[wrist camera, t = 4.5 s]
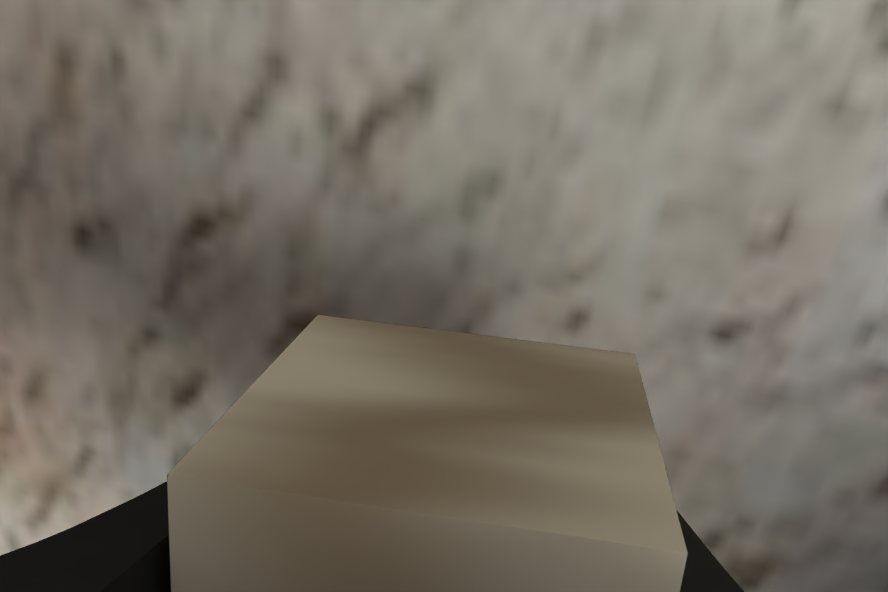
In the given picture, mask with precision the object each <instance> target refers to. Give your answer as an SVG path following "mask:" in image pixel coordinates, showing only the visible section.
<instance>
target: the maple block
mask: <svg viewBox="0 0 888 592" xmlns="http://www.w3.org/2000/svg"><path fill="white" fill-rule="evenodd" d="M167 489H168V518H169V546H170V574H171V592H680V588H681V583H682V578H683V574H684V569H685V564H686V559H687V554H688V552H687V549H686V545H685V541H684V537H683V534H682V530H681V526H680V522H679V518H678V515H677V511H676V507H675V503H674V500H673V496H672V492H671V488H670V485H669V481H668V477H667V473H666V470H665V466H664V462H663V458H662V454H661V451H660V447H659V443H658V439H657V436H656V432H655V428H654V424H653V421H652V417H651V413H650V409H649V405H648V402H647V398H646V394H645V390H644V387H643V383H642V379H641V375H640V372H639V368H638V364H637V360H636V356H635V354H630V353H622V352H614V351H606V350H598V349H590V348H582V347H574V346H566V345H558V344H550V343H541V342H533V341H525V340H517V339H509V338H501V337H493V336H485V335H477V334H469V333H461V332H452V331H444V330H436V329H428V328H420V327H412V326H404V325H396V324H388V323H380V322H372V321H363V320H355V319H347V318H339V317H331V316H323V315H317V316H316V317H315V319H314V320H313V321H312V322H311V323H310V324H309V325H308V326H307V327H306V328H305V329H304V330H303V331H302V332H301V333H300V334H299V335H298V336H297V338H296V339H295V340H294V341H293V342H292V343H291V344H290V345H289V346H288V347H287V348H286V349H285V350H284V351H283V352H282V353H281V354H280V356H279V357H278V358H277V359H276V360H275V361H274V362H273V363H272V364H271V365H270V366H269V367H268V368H267V369H266V370H265V371H264V372H263V374H262V375H261V376H260V377H259V378H258V379H257V380H256V381H255V382H254V383H253V384H252V385H251V386H250V387H249V388H248V389H247V390H246V392H245V393H244V394H243V395H242V396H241V397H240V398H239V399H238V400H237V401H236V402H235V403H234V404H233V405H232V406H231V407H230V408H229V410H228V411H227V412H226V413H225V414H224V415H223V416H222V417H221V418H220V419H219V420H218V421H217V422H216V423H215V424H214V425H213V426H212V428H211V429H210V430H209V431H208V432H207V433H206V434H205V435H204V436H203V437H202V438H201V439H200V440H199V441H198V442H197V443H196V444H195V446H194V447H193V448H192V449H191V450H190V451H189V452H188V453H187V454H186V455H185V456H184V457H183V458H182V459H181V460H180V461H179V462H178V464H177V465H176V466H175V467H174V468H173V469H172V470H171V471H170V472H169V473H168V474H167Z"/></svg>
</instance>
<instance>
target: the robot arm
mask: <svg viewBox="0 0 888 592" xmlns="http://www.w3.org/2000/svg"><path fill="white" fill-rule="evenodd" d="M676 511H677V510H676ZM677 515H678V518H679V522H680V526H681V530H682V534H683V537H684V541H685V545H686V549H687V552H688V554H687V559H686V564H685V569H684V574H683V578H682V583H681V588H680V592H744V591H743V590H742V589H741V588H740V586H739V585H738V584H737V583H736V582H735V581H734V580H733V578H732V577H731V576H730V575H729V574H728V573H727V571H726V570H725V569H724V568H723V567H722V565H721V564H720V563H719V562H718V561H717V560H716V558H715V557H714V556H713V555H712V553H711V552H710V551H709V550H708V549H707V547H706V546H705V545H704V544H703V542H702V541H701V540H700V539H699V537H698V536H697V535H696V534H695V532H694V531H693V530H692V529H691V527H690V526H689V525H688V524H687V522H686V521H685V520H684V519H683V517H682V516H681V515H680V514H679V512H678V511H677ZM0 592H171V574H170V546H169V518H168V489H167V482H165V483H163V484H161V485H159V486H157V487H155V488H153V489H151V490H149V491H148V492H146V493H144V494H142V495H140V496H138V497H136V498H134V499H132V500H129V501H127V502H125V503H123V504H121V505H119V506H117V507H115V508H112V509H110V510H108V511H106V512H104V513H102V514H100V515H98V516H95V517H93V518H91V519H89V520H87V521H85V522H83V523H81V524H78V525H76V526H74V527H72V528H70V529H67V530H65V531H63V532H60V533H58V534H56V535H53V536H51V537H48V538H46V539H43V540H41V541H38V542H36V543H33V544H31V545H28V546H25V547H23V548H20V549H17V550H15V551H12V552H9V553H6V554H4V555H1V556H0Z"/></svg>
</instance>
